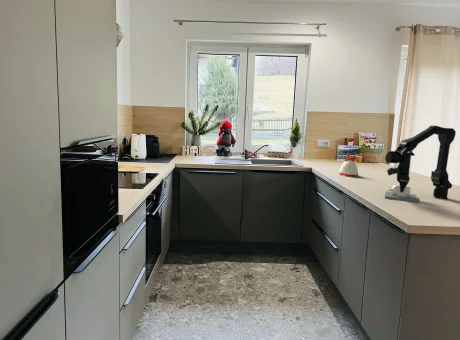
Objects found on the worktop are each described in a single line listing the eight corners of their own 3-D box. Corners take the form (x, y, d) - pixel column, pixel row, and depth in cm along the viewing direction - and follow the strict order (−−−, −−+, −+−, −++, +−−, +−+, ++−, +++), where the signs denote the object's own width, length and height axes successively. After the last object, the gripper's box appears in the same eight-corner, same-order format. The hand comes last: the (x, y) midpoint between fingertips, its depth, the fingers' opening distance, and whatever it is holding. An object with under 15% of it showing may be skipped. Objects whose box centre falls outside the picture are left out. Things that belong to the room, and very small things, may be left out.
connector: (409, 195, 205) (410, 187, 204) (409, 197, 201) (410, 188, 200) (388, 193, 209) (389, 184, 208) (388, 194, 206) (389, 185, 205)
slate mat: (415, 196, 209) (415, 194, 209) (417, 202, 195) (417, 199, 194) (385, 193, 215) (385, 191, 215) (384, 198, 201) (385, 196, 201)
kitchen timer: (359, 177, 274) (361, 157, 272) (340, 176, 276) (342, 156, 274) (356, 174, 288) (357, 155, 285) (338, 173, 290) (339, 154, 288)
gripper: (389, 160, 214) (386, 186, 216) (388, 163, 197) (385, 192, 199) (410, 162, 209) (406, 189, 212) (411, 165, 193) (407, 194, 195)
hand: (401, 191), depth 204 cm, fingers open, 9 cm apart
